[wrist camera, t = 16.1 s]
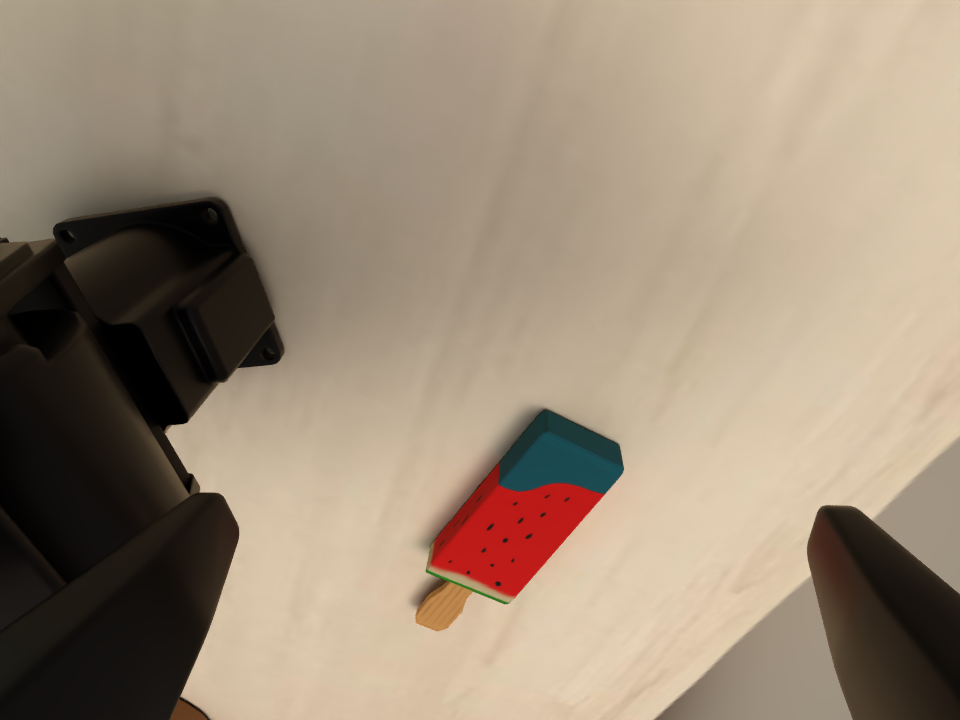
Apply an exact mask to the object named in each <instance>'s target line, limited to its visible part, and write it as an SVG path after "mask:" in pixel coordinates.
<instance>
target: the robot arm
mask: <svg viewBox="0 0 960 720" xmlns="http://www.w3.org/2000/svg"><path fill="white" fill-rule="evenodd" d="M208 208H210V209H212V210H214V211H215V212H216V214H217V216H218V219H215V218H213V217H211V215H210V214H209V211H208ZM68 231H70V232H71V233H72V234H73V235H74V237H75V239H74V238H73V237H71V236H70V234H69V233H68ZM53 234H54V237H55V239H47V240H41V241H34V242H12V243H10V242H9V241H8V239H7V238H0V720H170V719H171V717H172V714H173V712H174V710H175V707H176V705H177V703H178V700H179V698H180V696H181V694H182V691H183V689H184V687H185V684H186V682H187V680H188V678H189V675H190V673H191V671H192V668H193V666H194V664H195V661H196V659H197V657H198V655H199V652H200V650H201V648H202V645H203V643H204V641H205V638H206V636H207V633H208V631H209V628H210V625H211V622H212V620H213V617H214V614H215V611H216V608H217V605H218V602H219V599H220V596H221V592H222V589H223V586H224V583H225V580H226V577H227V574H228V571H229V568H230V565H231V562H232V559H233V556H234V552H235V549H236V546H237V543H238V539H239V527H238V524H237V522H236V520H235V518H234V516H233V514H232V512H231V510H230V508H229V506H228V504H227V502H226V500H225V498H224V497H223V496H222V495H221V494H219V493H199V492H200V486H199V484H198V482H197V481H196V479H195V477H194V475H193V474H190V473H188V472H187V471H186V469H185V467H184V465H183V464H182V462H181V460H180V459H179V457H178V455H177V454H176V452H175V450H174V448H173V447H172V445H171V443H170V442H169V440H168V438H167V437H166V435H165V433H166V432H167V430H168V429H169V428H170V427H171V426H172V425H177V424H184V423H187V422H188V421H189V420H190V418H191V417H192V416H193V415H194V413H195V412H196V411H197V410H198V408H199V407H200V406H201V405H202V404H203V402H204V401H205V400H206V399H207V397H208V396H209V395H210V394H211V392H212V391H213V390H214V389H215V387H216V386H217V385H218V384H219V383H223V382H226V381H227V380H228V379H229V377H230V376H231V375H232V374H233V372H234V371H235V370H236V369H237V368H244V367H254V366H264V365H273V364H276V363H278V362H279V361H280V359H281V358H282V356H283V354H284V347H283V344H282V342H281V339H280V337H279V334H278V332H277V329H276V327H275V324H274V322H273V321H274V319H275V316H274V314H273V311H272V309H271V306H270V304H269V301H268V299H267V296H266V293H265V291H264V288H263V286H262V283H261V281H260V278H259V276H258V273H257V271H256V268H255V266H254V263H253V260H252V259H251V258H250V257H249V256H248V255H247V254H246V251H245V249H244V246H243V244H242V241H241V239H240V236H239V234H238V231H237V228H236V226H235V223H234V221H233V218H232V216H231V213H230V211H229V209H228V207H227V206H226V204H225V203H224V202H222V201H221V200H219V199H217V198H203V199H197V200H190V201H183V202H177V203H170V204H164V205H157V206H150V207H144V208H137V209H130V210H124V211H117V212H111V213H104V214H97V215H91V216H84V217H77V218H71V219H66V220H64V221H62V222H60V223H58V224H56V225H55V226H54V228H53ZM266 348H268V349H270V350H272V351H273V353H274V354H270V353H269V352H267V350H266ZM807 556H808V562H809V566H810V570H811V574H812V578H813V583H814V587H815V591H816V595H817V599H818V603H819V607H820V611H821V615H822V619H823V624H824V627H825V631H826V636H827V639H828V644H829V648H830V652H831V655H832V659H833V663H834V667H835V671H836V674H837V676H838V680H839V683H840V686H841V688H842V691H843V694H844V697H845V699H846V702H847V705H848V708H849V710H850V713H851V716H852V718H853V720H960V594H959V593H958V592H956V591H955V590H954V589H953V588H952V587H950V586H949V585H948V584H947V583H946V582H944V581H943V580H942V579H941V578H940V577H939V576H937V575H936V574H935V573H934V572H932V571H931V570H930V569H929V568H928V567H927V566H925V565H924V564H923V563H922V562H921V561H919V560H918V559H917V558H916V557H915V556H914V555H912V554H911V553H910V552H909V551H908V550H906V549H905V548H904V547H903V546H902V545H900V544H899V543H898V542H897V541H896V540H894V539H893V538H892V537H891V536H890V535H889V534H887V533H886V532H885V531H884V530H883V529H881V528H880V527H879V526H878V525H877V524H876V523H874V522H873V521H872V520H871V519H870V518H868V517H867V516H866V515H865V514H864V513H863V512H861V511H860V510H859V509H857V508H855V507H852V506H834V505H825V506H822V507H821V508H820V509H819V510H818V512H817V515H816V518H815V521H814V524H813V528H812V531H811V534H810V537H809V540H808V545H807Z"/></svg>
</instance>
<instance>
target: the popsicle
mask: <svg viewBox="0 0 960 720" xmlns="http://www.w3.org/2000/svg"><path fill="white" fill-rule="evenodd" d="M623 471H624V466H623V461H622V455H621V450H620V446H619V445H618V444H616V443H614V442H612V441H610V440H608V439H606V438H604V437H602V436H600V435H597V434H595V433H593V432H591V431H589V430H587V429H585V428H583V427H581V426H579V425H577V424H575V423H573V422H571V421H569V420H566V419H564V418H562V417H560V416H558V415H556V414H554V413H552V412H550V411H544V412H542V413H541V414H540V415H539V416H538V417H537V418H536V419H535V420H534V421H533V423H532V424H531V425H530V426H529V427H528V429H527V430H526V431H525V432H524V433H523V435H522V436H521V437H520V438H519V439H518V441H517V442H516V443H515V444H514V445H513V447H512V448H511V449H510V450H509V451H508V453H507V454H506V455H505V456H504V457H503V459H502V460H501V461H500V462H499V463H498V465H497V466H496V467H495V468H494V469H493V471H492V472H491V473H490V474H489V476H488V477H487V478H486V479H485V480H484V482H483V483H482V484H481V485H480V486H479V488H478V489H477V490H476V491H475V492H474V494H473V495H472V496H471V497H470V498H469V500H468V501H467V502H466V503H465V504H464V506H463V507H462V508H461V509H460V510H459V512H458V513H457V514H456V515H455V516H454V518H453V519H452V520H451V521H450V522H449V524H448V525H447V526H446V527H445V528H444V530H443V531H442V532H441V533H440V534H439V536H438V537H437V538H436V539H435V540H434V542H433V543H432V544H431V546H430V551H429V557H428V562H427V567H426V572H427V573H429V574H431V575H434V576H436V577H439V578H441V579H444V580H446V581H447V582H446V583H445V584H443V585H442V586H440V587H439V588H437V589H436V590H434V591H433V592H431V593H430V594H429V595H428V596H427V598H426V599H425V600H424V601H423V603H422V604H421V605H420V606H419V608H418V609H417V612H416V623H417V624H419V625H422V626H425V627H427V628H430V629H432V630H435V631H441V630H444V629H446V628H448V627H449V626H450V625H451V624H452V622H453V621H454V620H455V619H456V618H457V617H458V616H459V615H460V613H461V612H462V610H463V607H464V604H465V602H466V599H467V598H468V596H469V595H470V594H471V593H472V592H476V593H478V594H481V595H483V596H486V597H488V598H491V599H493V600H496V601H498V602H501V603H503V604H509V603H510V602H511V601H512V600H513V599H514V598H515V597H516V596H517V595H518V594H519V592H520V591H521V590H522V589H523V588H524V587H525V585H526V584H527V583H528V582H529V581H530V580H531V579H532V577H533V576H534V575H535V574H536V573H537V572H538V571H539V569H540V568H541V567H542V566H543V565H544V564H545V562H546V561H547V560H548V559H549V558H550V557H551V556H552V554H553V553H554V552H555V551H556V550H557V549H558V548H559V546H560V545H561V544H562V543H563V542H564V541H565V540H566V538H567V537H568V536H569V535H570V534H571V533H572V531H573V530H574V529H575V528H576V527H577V526H578V525H579V523H580V522H581V521H582V520H583V519H584V518H585V517H586V515H587V514H588V513H589V512H590V511H591V510H592V508H593V507H594V506H595V505H596V504H597V503H598V502H599V500H600V499H601V498H602V497H603V496H604V495H605V494H606V492H607V491H608V490H609V489H610V488H611V487H612V485H613V484H614V483H615V482H616V481H617V480H618V479H619V477H620V476H621V475H622V473H623Z"/></svg>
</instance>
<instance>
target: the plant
mask: <svg viewBox="0 0 960 720" xmlns="http://www.w3.org/2000/svg"><path fill="white" fill-rule="evenodd" d="M170 720H207V718H206V717H205V716H204V715H203V714H202V713H200V711H198V710H197V709H195V708H193V707H192V706H190V705H189V704H187V703H186V702H184V701H182V700H180V699H179V700H178V703H177V705H176V707H175V710H174V712H173V714H172V717H171V719H170Z"/></svg>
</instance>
